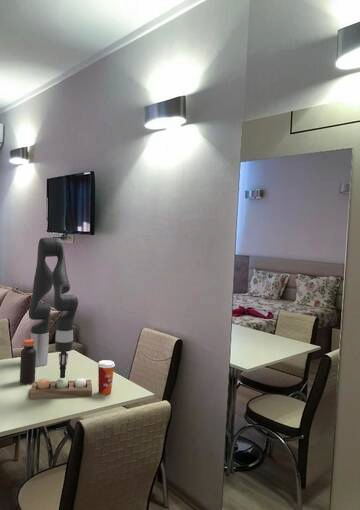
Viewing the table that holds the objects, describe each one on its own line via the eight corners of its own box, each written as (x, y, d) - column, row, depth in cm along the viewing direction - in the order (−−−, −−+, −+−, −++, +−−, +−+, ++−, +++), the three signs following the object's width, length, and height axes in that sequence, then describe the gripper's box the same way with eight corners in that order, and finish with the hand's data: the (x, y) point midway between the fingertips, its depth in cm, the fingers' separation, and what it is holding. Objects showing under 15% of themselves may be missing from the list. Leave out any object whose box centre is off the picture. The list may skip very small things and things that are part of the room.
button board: (32, 388, 185) (32, 381, 185) (90, 386, 192) (91, 380, 192) (29, 399, 174) (30, 392, 174) (91, 396, 181) (92, 389, 180)
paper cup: (107, 397, 181) (109, 366, 180) (92, 393, 184) (94, 363, 183) (116, 391, 188) (118, 361, 188) (102, 387, 191) (103, 358, 190)
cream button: (74, 386, 187) (75, 378, 186) (85, 386, 188) (85, 377, 188) (74, 390, 182) (75, 381, 182) (85, 390, 183) (86, 381, 183)
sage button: (56, 387, 185) (57, 378, 184) (67, 386, 186) (67, 378, 186) (56, 391, 180) (56, 382, 180) (67, 390, 181) (67, 382, 181)
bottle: (16, 382, 191) (18, 340, 190) (27, 378, 197) (29, 337, 196) (26, 385, 188) (28, 343, 187) (38, 381, 194) (39, 340, 193)
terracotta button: (37, 387, 183) (38, 379, 182) (49, 387, 184) (49, 378, 184) (37, 392, 178) (37, 383, 178) (48, 391, 179) (49, 382, 179)
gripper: (56, 335, 187) (54, 372, 188) (54, 343, 174) (53, 383, 175) (72, 335, 189) (71, 372, 190) (72, 343, 176) (71, 382, 177)
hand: (62, 377), depth 183 cm, fingers closed
